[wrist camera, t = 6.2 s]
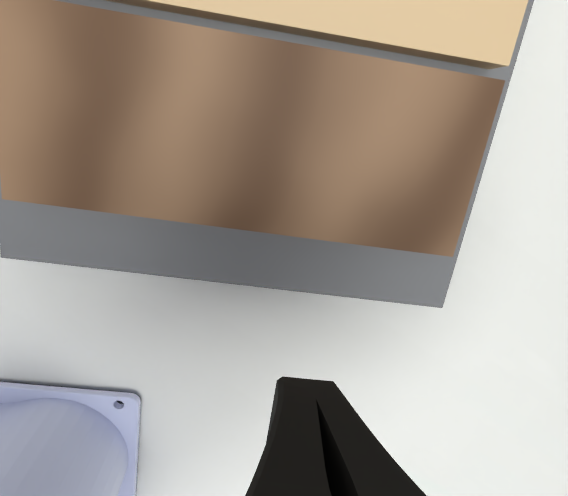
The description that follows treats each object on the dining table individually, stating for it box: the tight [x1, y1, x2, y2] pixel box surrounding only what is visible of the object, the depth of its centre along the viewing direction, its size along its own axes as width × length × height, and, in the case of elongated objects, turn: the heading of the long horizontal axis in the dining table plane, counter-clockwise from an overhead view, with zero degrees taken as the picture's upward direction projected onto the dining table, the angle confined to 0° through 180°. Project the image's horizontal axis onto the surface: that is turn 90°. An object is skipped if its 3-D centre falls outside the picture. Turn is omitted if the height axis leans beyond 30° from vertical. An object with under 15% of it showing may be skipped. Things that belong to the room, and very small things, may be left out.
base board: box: [0, 0, 534, 308], centre depth 16 cm, size 20×18×2 cm
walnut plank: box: [0, 0, 505, 257], centre depth 16 cm, size 18×7×1 cm, turn 81°
